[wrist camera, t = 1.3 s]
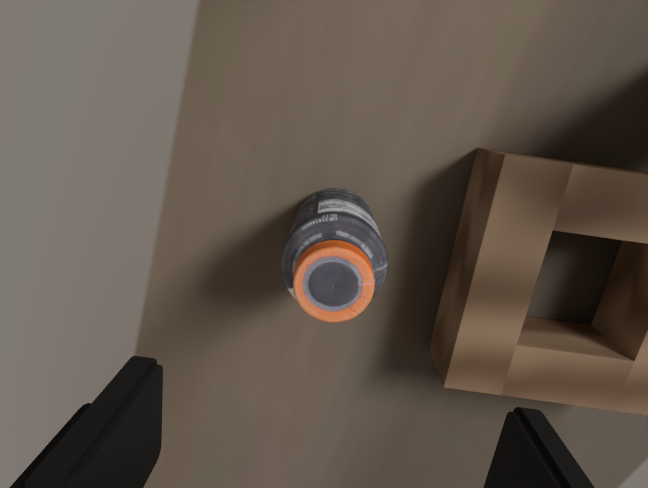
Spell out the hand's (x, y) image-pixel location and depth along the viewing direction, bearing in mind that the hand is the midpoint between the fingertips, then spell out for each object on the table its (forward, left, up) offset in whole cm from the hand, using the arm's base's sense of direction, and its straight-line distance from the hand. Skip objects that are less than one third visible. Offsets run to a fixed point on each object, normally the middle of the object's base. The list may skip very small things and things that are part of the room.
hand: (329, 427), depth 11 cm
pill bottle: (0, 0, -21) cm, 21 cm away
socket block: (+1, +17, -21) cm, 27 cm away
